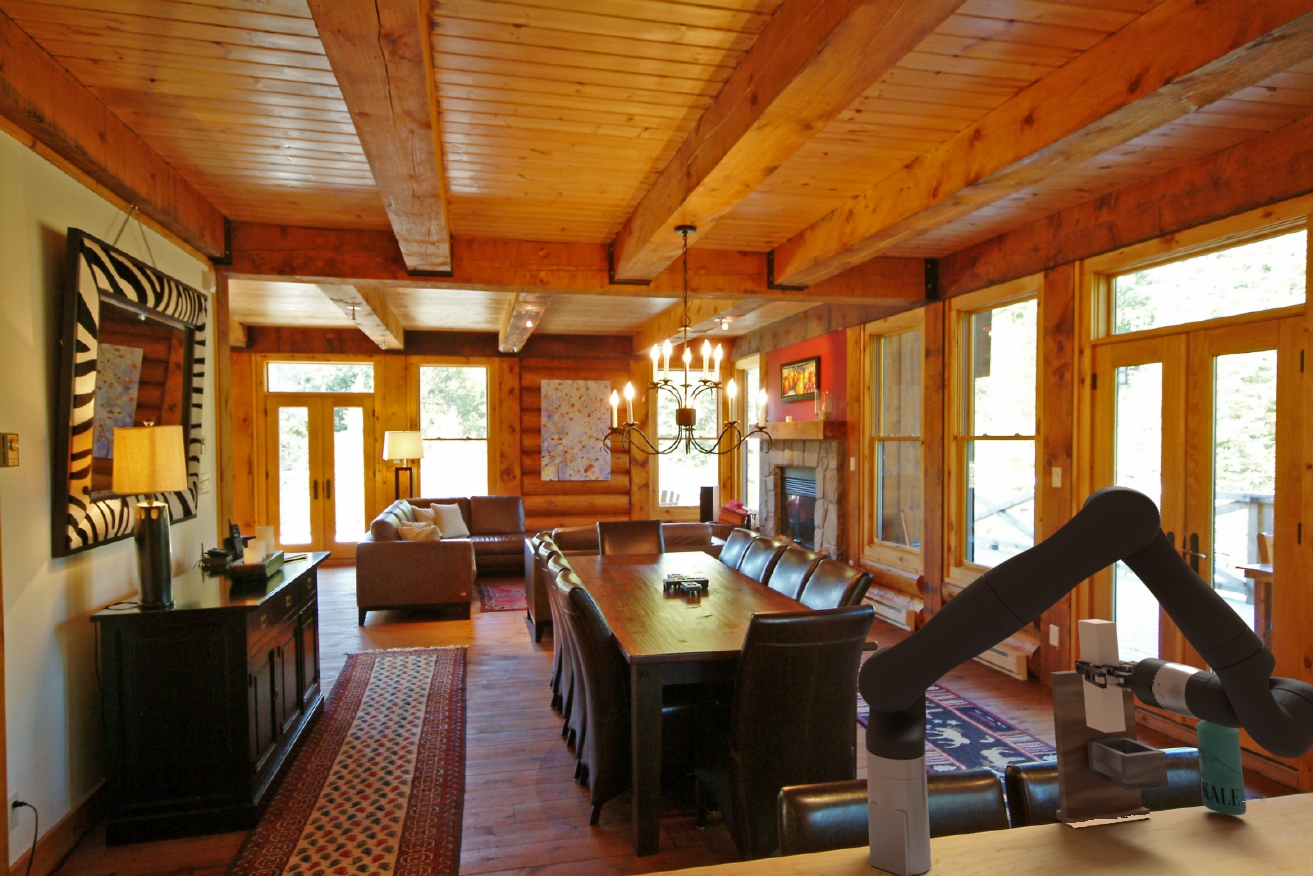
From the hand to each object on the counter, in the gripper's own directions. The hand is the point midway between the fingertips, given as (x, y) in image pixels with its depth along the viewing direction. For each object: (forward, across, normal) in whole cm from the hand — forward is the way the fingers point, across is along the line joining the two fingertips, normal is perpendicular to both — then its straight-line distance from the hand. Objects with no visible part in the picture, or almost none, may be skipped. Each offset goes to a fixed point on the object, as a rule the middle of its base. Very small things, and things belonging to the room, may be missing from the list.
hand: (1088, 665), depth 125 cm
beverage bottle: (0, -26, +28) cm, 38 cm away
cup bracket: (0, -4, +28) cm, 28 cm away
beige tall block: (-3, 0, +10) cm, 10 cm away
